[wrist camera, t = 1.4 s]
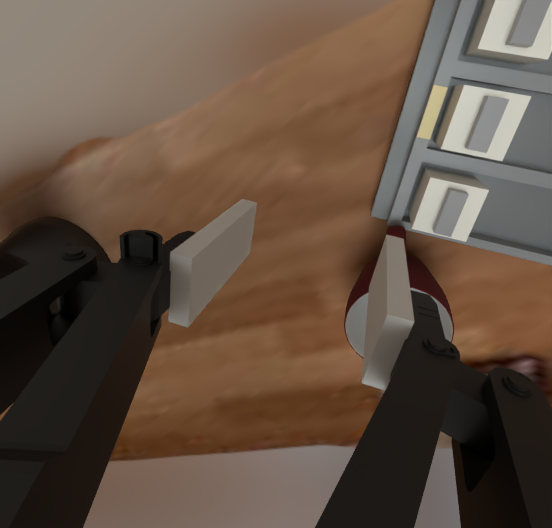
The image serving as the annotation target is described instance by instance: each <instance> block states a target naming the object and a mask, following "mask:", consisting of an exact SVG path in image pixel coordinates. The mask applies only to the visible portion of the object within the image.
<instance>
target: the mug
mask: <svg viewBox="0 0 552 528" xmlns="http://www.w3.org/2000/svg"><path fill="white" fill-rule="evenodd" d="M387 235H390V236H394V237H398V238H402V239H404V245H405V253H406V232H405V228H404V227H402V226H397V225H395V226H390V227H389V228H388V229H387ZM378 258H379V256H378V257H377V258H375V259H373V260H372V261H371V262H370V263H369V264H368V265H367V266H366V267H365V268H364V270H363V271H362V273H361V275H360V276H359V278H358V280H357V282H356V284H355V286H354V287H353V289H352V291H351V293H350V296H349V299H348V302H347V307H346V313H345V322H344V328H345V334H346V337H347V340H348V342H349V344H350V345H351V347H352V348H353V349H354V351H355V352H356V353H357V354H358V355H359V356H361V357H362V358H363V357H364V345H365V332H366V320H367V307H368V295H369V285H370V282H371V279H372V276H373V273H374V270H375V267H376V264H377V261H378ZM406 260H407V268H408V276H409V284H410V290H413V291H417V292H420V293H424V294H428V295H430V296H431V297H432V299H433V300H434V301H435V302H436V303H437V306H438V310H439V314H440V318H441V319H440V320H441V323H442V327H443V331H444V335H445V339H447V340H449V341H450V342H452V339H453V335H454V324H453V319H452V314H451V310H450V306H449V303H448V301H447V298H446V296H445V294H444V292H443V290H442V289H441V287H440V286H439V284H438V283H437V281H436V280H435V278H434V277H433V276H432V274H431V273H430V271H429V270H428V268H427V267H426V266H425V265H424V264H423V263H422V262H421V261H419V260H418V259H416V258H415V257H413V256H410V255H408V254H406Z"/></svg>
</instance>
